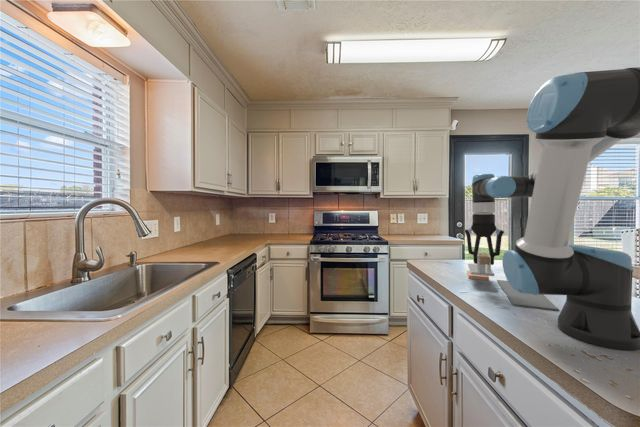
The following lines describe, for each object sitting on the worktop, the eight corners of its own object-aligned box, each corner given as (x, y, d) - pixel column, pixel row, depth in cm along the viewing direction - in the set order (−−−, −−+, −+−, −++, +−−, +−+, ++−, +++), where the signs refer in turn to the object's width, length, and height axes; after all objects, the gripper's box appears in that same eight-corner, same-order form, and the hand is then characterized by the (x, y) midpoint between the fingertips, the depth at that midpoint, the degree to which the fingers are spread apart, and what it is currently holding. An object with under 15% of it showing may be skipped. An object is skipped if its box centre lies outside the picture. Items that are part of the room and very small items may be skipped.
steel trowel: (497, 281, 98) (497, 257, 97) (473, 279, 101) (472, 256, 101) (488, 267, 118) (488, 247, 118) (468, 265, 122) (467, 246, 121)
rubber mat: (558, 311, 83) (558, 309, 83) (513, 305, 88) (513, 303, 88) (530, 284, 110) (530, 282, 110) (496, 281, 115) (496, 279, 115)
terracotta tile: (488, 277, 117) (485, 272, 125) (468, 275, 120) (466, 270, 128) (488, 281, 117) (485, 276, 125) (468, 279, 120) (466, 274, 128)
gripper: (505, 213, 102) (505, 271, 103) (459, 213, 109) (460, 268, 110) (510, 213, 95) (510, 276, 96) (460, 214, 102) (461, 272, 103)
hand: (483, 272), depth 103 cm, fingers closed on steel trowel, 3 cm apart
